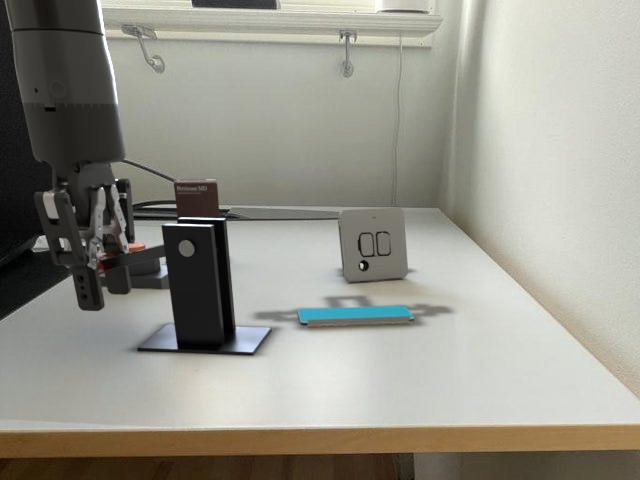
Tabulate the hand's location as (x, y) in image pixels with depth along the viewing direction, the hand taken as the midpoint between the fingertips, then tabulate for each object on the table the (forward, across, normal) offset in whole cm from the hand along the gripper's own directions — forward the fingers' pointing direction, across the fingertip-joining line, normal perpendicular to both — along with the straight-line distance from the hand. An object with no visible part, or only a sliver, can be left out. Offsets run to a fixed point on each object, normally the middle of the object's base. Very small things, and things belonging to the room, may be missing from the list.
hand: (106, 300), depth 64 cm
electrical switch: (+5, -34, +23) cm, 41 cm away
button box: (+4, -24, -7) cm, 26 cm away
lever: (-3, 0, +5) cm, 6 cm away
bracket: (+4, 0, +10) cm, 11 cm away
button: (+1, -24, -7) cm, 25 cm away
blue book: (+5, -12, +23) cm, 26 cm away
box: (+5, -37, -2) cm, 37 cm away
